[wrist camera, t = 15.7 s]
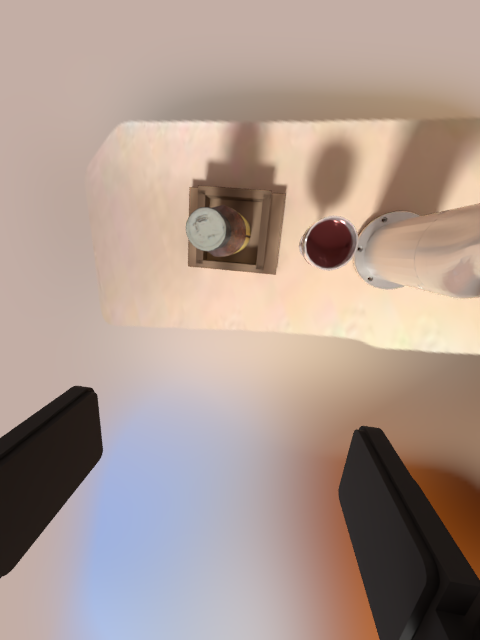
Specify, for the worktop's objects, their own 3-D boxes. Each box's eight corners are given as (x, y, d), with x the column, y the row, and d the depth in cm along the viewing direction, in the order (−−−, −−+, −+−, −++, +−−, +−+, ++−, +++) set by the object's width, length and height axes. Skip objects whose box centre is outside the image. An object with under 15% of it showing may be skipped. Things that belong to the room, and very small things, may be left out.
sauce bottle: (219, 210, 41) (178, 178, 22) (255, 219, 41) (245, 193, 22) (212, 250, 43) (169, 251, 24) (246, 258, 43) (230, 265, 24)
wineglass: (338, 257, 42) (364, 260, 31) (300, 270, 44) (311, 278, 32) (328, 218, 41) (351, 206, 29) (289, 233, 42) (297, 227, 31)
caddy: (285, 195, 40) (287, 189, 36) (275, 273, 44) (276, 276, 40) (192, 189, 42) (183, 182, 37) (190, 265, 46) (182, 267, 41)
